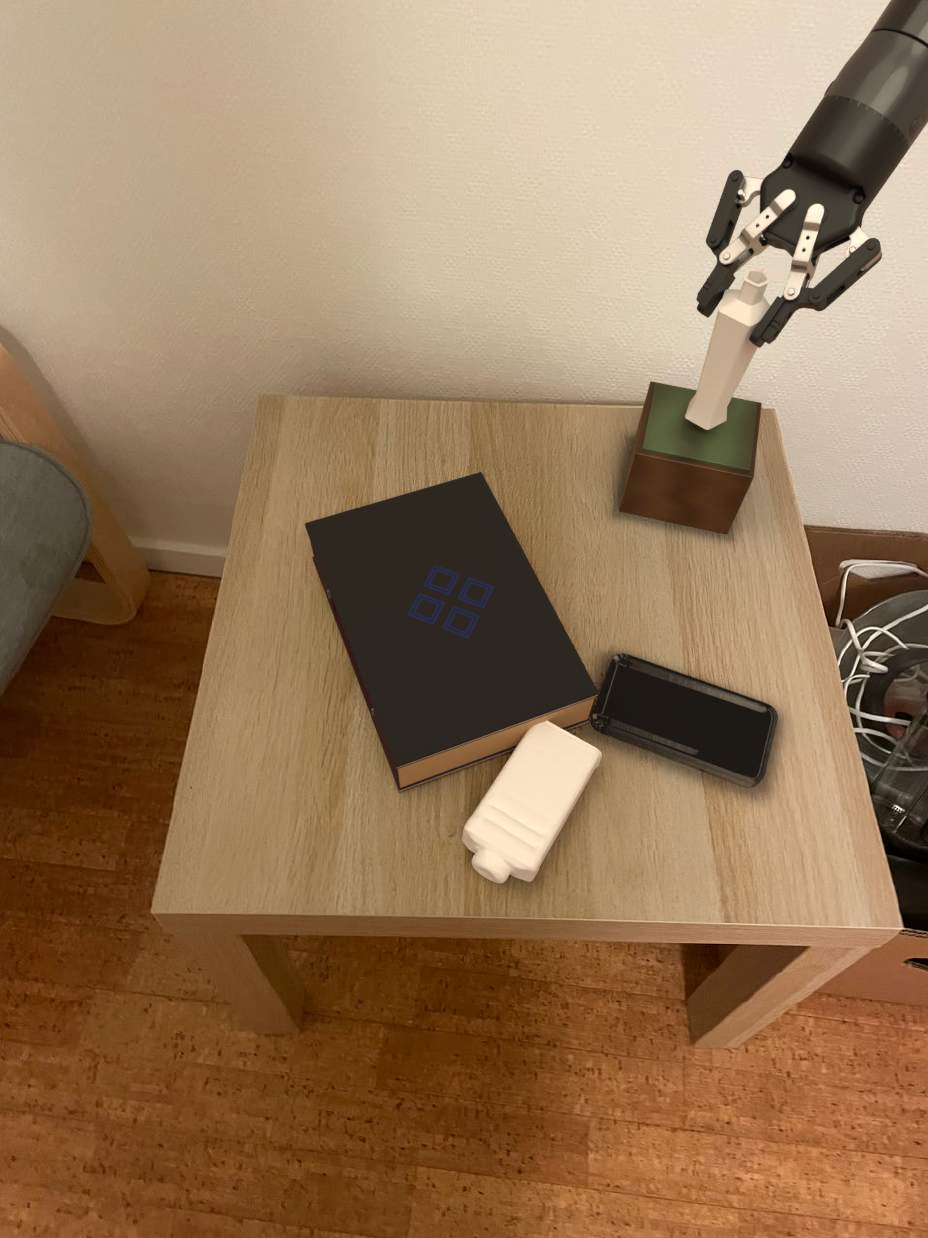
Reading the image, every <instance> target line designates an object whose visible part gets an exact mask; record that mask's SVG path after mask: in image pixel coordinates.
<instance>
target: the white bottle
mask: <svg viewBox="0 0 928 1238" xmlns="http://www.w3.org/2000/svg"><path fill="white" fill-rule="evenodd" d="M602 758H603V754H602V752H601V750H600V749H598V748H597V747H595V746H594V745H592V744H590V743H588V742H586V741H585V740H583V739H581V738H579V737H577V736H576V735H573V733H570V732H569V731H565V730H563V729H561V728H560V727H557V726H556V725H555V724H553V723H550V722H549V721H545V722H542V723H539V724H536V725H534V726H532V727H531V728H529V729H528V730H527V732H526V733H525V735H524V736H523V738H522V739H521V741H520V742H519V744H518V745H517V747H516V748H515V750H514V751H512V753H511V755H510V756H509V757H508V760H507V761H506V763H505V764H504V766H503V767H502V768H501V770H500V771H499V773H498V774H497V776H496V778H495V779H494V781H493V782H492V784H491V785H490V787H489V788H488V790H487V791H486V793H485V794H484V796H483V797H482V799H481V800H480V802H479V803H478V805H477V807H476V808H475V809H474V811H473V812H472V814H471V815H470V817H469V818H468V819H467V821H466V823H465V824H464V826H463V828H462V829H463V830H462V834H461V842H462V843H463V845H464V846H466V848H467V850H469V851H470V852H472V853H473V856H472V858H471V866H472V867H473V869H474V870H475V871H476V872H477V873H478V874H479V875H481V876H482V877H483V878H485V879H487V880H489V881H491V882H493V883H496V884H503V883H506V881H507V880H508V878H509V876H512V877H513V878H515V879H518V880H522V881H524V882H527V883H531V882H533V880H534V879H535V878H536V876H537V875H538V873H539V871H540V868H541V866H542V864H543V862H544V860H545V859H546V857H547V855H548V854H549V852H550V851H551V848H552V846H553V845H554V843H555V841H556V839H557V838H558V836H559V834H560V833H561V831H562V829H563V827H564V826H565V823H566V822H567V820H568V818H569V817H570V815H571V814H572V811H573V810H574V808H575V806H576V804H577V802H578V801H579V798H580V797H581V795H582V793H583V792H584V790H585V788H586V786H587V785H588V783H589V781H590V779H591V777H592V775H593V774H594V772H595V770H596V769H597V768H598V767H599V765H600V763H601V761H602V760H601V759H602Z"/></svg>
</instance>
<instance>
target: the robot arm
mask: <svg viewBox="0 0 928 1238" xmlns="http://www.w3.org/2000/svg"><path fill="white" fill-rule="evenodd" d="M927 124H928V0H889V2H888V3H887V5H886V6H885V8H884V10H883V11H882V13H881V14H880V16H879V17H878V19H877V20H876V22H875V24H874V25H873V26H872V28H871V29H870V31H869V33H868V34H867V35H866V37H865V38H864V40H863V41H862V43H861V44H860V45H859V47H858V48H857V49H856V50H855V52H853V54H852V55H851V56H850V57H849V58H848V60H847V61H846V62H845V64H843V66H842V68H841V70H840V71H839V73H838V74H837V76H836V77H835V79H833V81H831V82H830V83H829V86H827V88H826V90H825V92H824V94H823V97H822V98H821V100H820V102H819V103H818V105H817V106H816V108H815V109H814V111H813V113H812V114H811V116H810V117H809V118H808V120H807V121H806V123H805V125H804V126H803V128H802V129H801V131H800V133H799V134H798V135H797V137H796V138H795V140H794V142H793V143H792V145H791V146H790V148H789V149H788V151H787V152H786V154H785V156H784V157H783V159H782V162H781V163H780V164H779V165H778V166H777V167H776V168H775V169H774V170H773V171H771V172H770V173H768V174H767V175H766V176H765V177H764V178H760V177H754V176H748V175H744V174H743V172H742V170H740V169H734V170H732V171H731V172H730V173H728V176H727V178H726V181H725V183H724V187H723V190H722V193H721V195H720V198H719V201H718V203H717V207H716V208H715V212H714V215H713V217H712V221H711V223H710V226H709V229H708V232H707V235H706V238H705V244H706V245H707V247H708V248H709V249H710V250H711V253H712V254H713V255H714V256H715V257H716V264H715V265H714V268H713V269H712V271H711V273H709V276H708V277H707V278H706V280H705V281H704V283H703V284H702V286H701V288H700V289H699V291H698V293H697V295H696V299H695V300H696V301H697V303H698V304H697V306H696V311H698V313H699V314H701V316H704V317H706V318H708V319H709V318H710V317H711V316H712V315H713V314H714V312H715V310H717V307H718V306H719V305H720V304H721V301H722V298H723V295H724V292H725V290H726V289H730V288H731V286H732V285H733V283H734V281H735V280H736V276H735V274H736V273H737V272H738V271H739V270H740V269H741V268H743V267H744V266H745V265H746V264H747V263H749V262H750V260H752V259H753V258H754V257H756V256H759V255H760V254H762V253H763V252H764V251H765V250H766V249H767V248H769V247H772V248H775V249H779V250H784V251H786V252H787V254H789V255H790V257H791V258H792V259H791V263H790V269H789V273H788V277H787V279H786V283H785V286H784V289H783V291H782V295H781V297H780V296H778V295H777V296H776V297H775V299H774V300H773V302H772V303H771V304H770V308H769V309H768V311H767V312H766V313H765V315H764V316H763V318H762V319H761V321H760V322H759V324H758V325H757V327H756V328H755V329H754V331H753V332H752V334H751V336H750V338H749V340H750V342H751V343H752V344H754V345H755V346H757V347H758V349H760V348H762V347H763V346H764V344H765V343H766V344H767V345H771V344H772V343H773V342H774V341H776V339H777V338H778V337H779V335H780V334H781V332H782V331H783V329H784V328H785V326H786V325H787V324H788V322H789V321H790V320H791V318H792V317H793V315H794V314H795V313H796V312H797V311H798V310H801V309H809V310H814V311H815V312H822V311H825V310H827V308H828V307H829V306H830V305H832V304H833V303H834V302H835V301H836V300H837V299H838V298H840V297H841V296H842V295H843V294H844V293H846V292H847V290H849V289H850V288H851V287H852V286H853V285H855V283H857V282H858V281H859V280H860V279H861V278H862V277H864V276H865V275H866V274H867V273H868V272H869V271H870V270H871V269H873V267H875V266H876V265H877V264H878V263H880V261H881V260H882V257H883V252H882V246H881V241H880V239H878V238H876V237H870V235H868V233H866V232H865V231H864V230H863V229H862V225H863V220H864V216H865V213H866V211H867V210H868V208H869V207H870V206H871V205H872V203H873V201H874V200H875V199H876V197H877V196H878V194H879V193H880V192H881V190H882V188H883V187H884V186H885V184H886V183H887V181H888V180H889V179H890V177H891V176H892V175H893V173H894V172H895V170H896V169H897V168H898V166H899V165H900V163H901V161H902V160H903V159H904V157H905V156H906V154H907V153H908V151H910V149H911V147H912V146H913V144H914V143H915V141H916V140H917V138H918V137H919V136H920V134H921V133H922V131H923V130H924V128H925V127H926V125H927ZM758 196H759V214H758V215H757V216H756V217H755V218H754V219H752V220H751V221H750V222H749V223H748V224H747V225H745V226H744V227H743V229H742V230H741V231H740V234H739V235H738V236H737V237H736V238H735V239H734V240H732V237H733V235H734V232H735V229H736V227H737V224H738V220H739V218H740V215H741V213H742V210H743V208H747V207H748V206H750V205H751V203H752V201H753V200H754V198H756V197H758ZM731 240H732V242H731ZM849 241H850V243H849V245H848V246H847V248H846V249H845V250H844V258H845V259H843V261H842V262H840V263H839V264H838V265H837V266H836V267H835V268H834V269H833V270H831V271H830V272H829V273H828V274H827V275H826V276H825V277H824V278H823V279H822V280H821V281H819V282H818V283H817V284H816V285H815V286H814V287H810V284H811V282H812V280H813V278H814V277H815V273H816V270H817V267H818V264H819V262H820V258H821V256H822V254H824V253H826V252H828V251H830V250H832V249H835V248H837V247H839V246H841V245H843V244H845V243H847V242H849ZM730 242H731V243H730Z"/></svg>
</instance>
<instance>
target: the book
mask: <svg viewBox="0 0 928 1238" xmlns="http://www.w3.org/2000/svg"><path fill="white" fill-rule="evenodd" d="M304 526H305V531H306V532H307V533H306V534H307V535H308V538H309V543H310V546H311V551H312V555H313V556H312V561H313V564H314V567H315V570H316V572H317V575H318V578H319V581H320V583H321V586H322V588H323V591H324V594H325V597H326V599H327V602H328V605H329V607H330V610H331V613H332V616H333V618H334V621H335V624H336V626H337V629H338V631H339V634H340V638H341V640H342V642H343V645H344V647H345V650H346V653H347V656H348V658H349V661H350V664H351V667H352V670H353V673H354V675H355V678H356V680H357V683H358V685H359V688H360V691H361V693H362V696H363V699H364V702H365V704H366V707H367V709H368V712H369V715H370V717H371V720H372V723H373V726H374V728H375V731H376V733H377V736H378V740H379V742H380V745H381V748H382V750H383V752H384V755H385V758H386V760H387V764H388V766H389V769H390V772H391V774H392V777H393V779H394V782H395V784H396V787H397V790H398V794H399V793H403V792H405V791H408V790H411V789H414V788H417V787H419V786H422V785H424V784H427V783H430V782H433V781H435V780H439V779H441V778H443V777H446V776H449V775H452V774H455V773H457V772H460V771H463V770H465V769H469V768H471V767H473V766H476V765H479V764H481V763H484V762H487V761H489V760H493V759H496V758H498V757H500V756H504V755H506V754H509V753H511V752H514V750H515V748H516V747H517V745H518V744H519V742H520V741H521V739H522V738H523V736H524V735H525V733H526V732H527V730H528V729H529V728H531V727H532V726H534V725H536V724H539V723H542V722H545V721H549V722H550V723H553V724H555V725H556V726H557V727H560V728H561V729H563V730H565V731H567V732H569V731H571V730H574V729H576V728H579V727H582V726H585V725H587V724H589V723H590V722H591V719H590V717H589V715H590V713H591V709H592V707H593V704H594V701H595V698H598V696H599V694H600V691H598V689H597V687H596V685H595V682H594V681H593V679H592V677H591V675H590V674H589V672H588V669H587V668H586V666H585V663H583V660H582V659H581V656H580V655H579V653H578V650H577V648H576V647H575V645H574V643H573V641H572V640H571V637H570V636H569V634H568V632H567V630H566V628H565V626H564V625H563V622H562V621H561V618H560V617H559V614H558V613H557V611H556V610H555V608H554V606H553V604H552V601H551V600H550V598H549V596H548V595H547V593H546V591H545V589H544V587H543V585H542V583H541V581H540V579H539V577H538V575H537V574H536V572H535V570H534V568H533V566H532V564H531V563H530V561H529V559H528V557H527V555H526V552H525V551H524V549H523V548H522V547H523V546H521V544H520V542H519V540H518V538H517V536H516V534H515V532H514V530H513V528H512V526H511V524H510V523H509V521H508V519H507V517H506V516H505V513H504V511H503V510H502V508H501V506H500V504H499V503H498V501H497V498H496V497H495V495H494V493H493V491H492V489H491V487H490V484H489V483H488V482H487V480H486V478H485V476H484V474H483V473H482V471H479V472H476V473H471V474H468V475H465V476H461V477H458V478H455V479H451V480H448V481H445V482H441V483H438V484H434V485H430V486H428V487H424V488H421V489H417V490H414V491H410V492H406V493H404V494H401V495H397V496H393V497H389V498H386V499H383V500H379V501H376V502H372V503H370V504H366V505H362V506H358V507H355V508H352V509H349V510H344V511H342V512H339V513H335V514H332V515H328V516H325V517H322V518H317V519H315V520H311V521H307V522H305V523H304Z"/></svg>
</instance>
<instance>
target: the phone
mask: <svg viewBox="0 0 928 1238" xmlns="http://www.w3.org/2000/svg"><path fill="white" fill-rule="evenodd" d="M778 719H779V715H778V712H777V710H776V709H775V707H773V705H771V704H770V703H768V702H764V701H761V700H759V699H756V698H752V697H751V696H747V695H744V694H742V693H739V692H736V691H733V690H730V689H727V688H725V687H722V686H719V685H716V684H713V683H711V682H708V681H705V680H702V679H699V678H696V677H693V676H691V675H688V674H685V673H682V672H680V671H676V670H674V669H670V668H668V667H666V666H662V665H659V664H658V663H654V662H651V661H649V660H646V659H643V658H640V657H637V656H634V655H632V654H629V653H624V652H621V653H618V654H615V655H614V656H613V657H612V659H611V661H610V664H609V666H608V669H607V672H606V674H605V677H604V680H603V683H602V686H601V688H600V691H599V695H598V697H597V699H596V702H595V705H594V707H593V710H592V713H591V716H590V724H591V726H592V728H593V729H594V730H595V731H597V732H598V733H601V734H603V735H606V736H607V737H611V738H614V739H617V740H618V741H621V742H625V743H627V744H630V745H631V746H635V747H636V748H637V747H638V748H640V749H643V750H645V751H648V752H651V753H654V754H657V755H659V756H661V757H665V758H667V759H670V760H672V761H675V762H678V763H681V764H684V765H686V766H688V767H690V768H694V769H696V770H699V771H702V772H705V773H707V774H710V775H712V776H715V777H718V778H721V779H723V780H726V781H728V782H731V783H734V784H735V785H739V786H742V787H745V788H754V787H756V786H758V785H759V784H760V783H761V781H762V780H763V779H764V778H765V776H766V772H767V767H768V763H769V759H770V754H771V751H772V746H773V742H774V737H775V733H776V729H777V725H778Z"/></svg>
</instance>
